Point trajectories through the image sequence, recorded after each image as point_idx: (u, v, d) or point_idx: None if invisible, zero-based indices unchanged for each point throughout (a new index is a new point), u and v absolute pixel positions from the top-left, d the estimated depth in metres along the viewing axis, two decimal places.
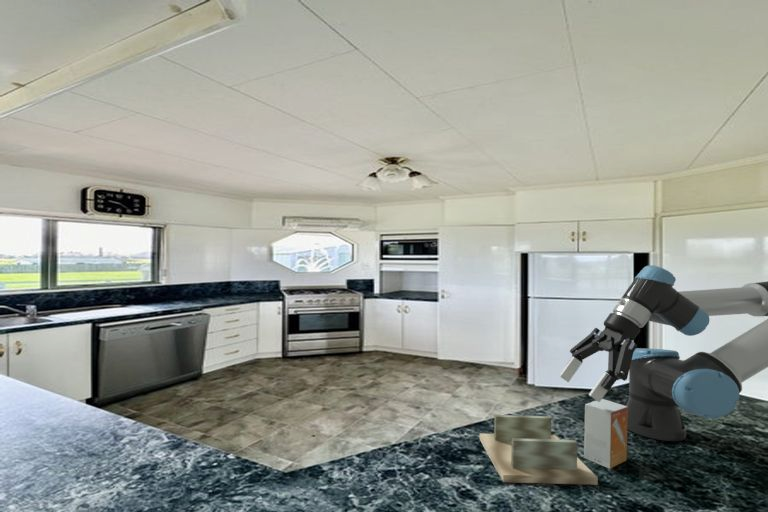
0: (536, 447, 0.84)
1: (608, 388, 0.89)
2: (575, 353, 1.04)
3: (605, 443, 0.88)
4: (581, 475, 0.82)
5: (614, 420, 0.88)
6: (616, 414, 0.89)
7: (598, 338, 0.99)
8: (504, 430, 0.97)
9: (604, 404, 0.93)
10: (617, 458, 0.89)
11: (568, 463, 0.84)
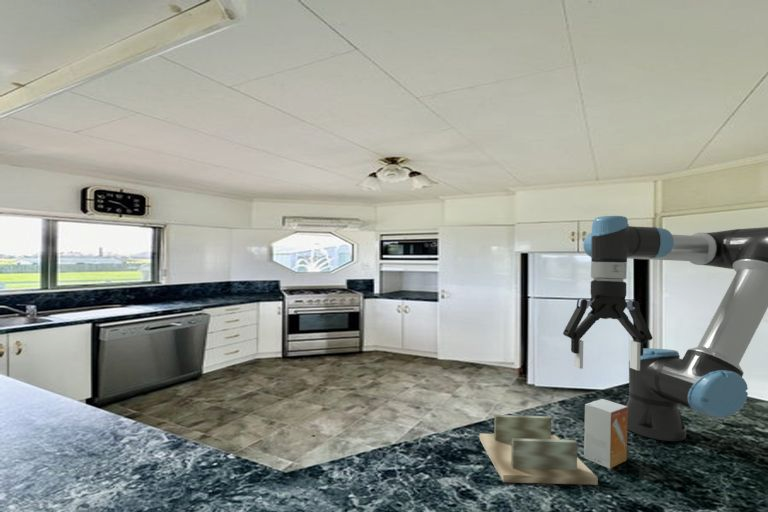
0: (536, 447, 0.84)
1: None
2: (579, 336, 0.92)
3: (605, 443, 0.88)
4: (581, 475, 0.82)
5: (613, 420, 0.88)
6: (616, 414, 0.89)
7: (602, 311, 0.91)
8: (504, 430, 0.97)
9: (604, 404, 0.93)
10: (617, 458, 0.89)
11: (568, 463, 0.84)
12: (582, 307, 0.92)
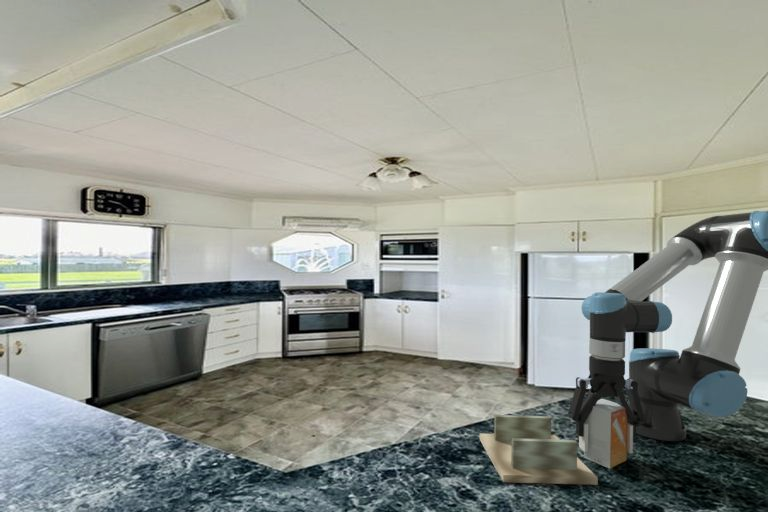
0: (536, 447, 0.84)
1: None
2: (584, 419, 0.91)
3: (605, 443, 0.88)
4: (581, 475, 0.82)
5: (613, 420, 0.88)
6: (616, 413, 0.89)
7: (602, 391, 0.91)
8: (504, 430, 0.97)
9: (604, 404, 0.93)
10: (617, 458, 0.89)
11: (568, 463, 0.84)
12: (582, 388, 0.91)
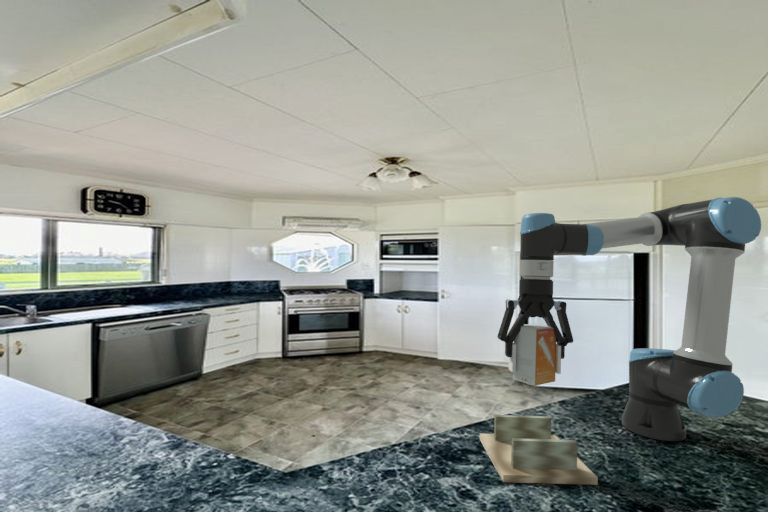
0: (536, 447, 0.84)
1: None
2: (512, 339, 0.91)
3: (531, 360, 0.88)
4: (581, 475, 0.82)
5: (539, 338, 0.88)
6: (542, 331, 0.88)
7: (530, 310, 0.90)
8: (504, 430, 0.97)
9: (533, 325, 0.92)
10: (544, 377, 0.89)
11: (568, 463, 0.84)
12: (510, 308, 0.91)
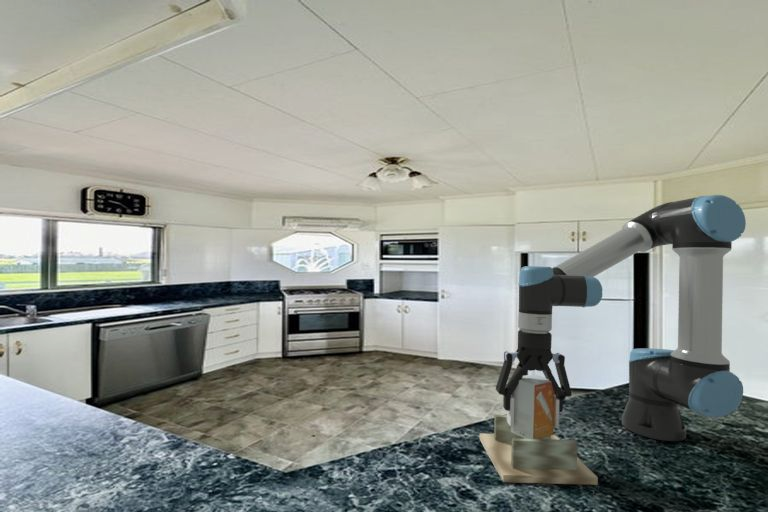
0: (536, 447, 0.84)
1: None
2: (510, 393, 0.90)
3: (529, 416, 0.88)
4: (581, 475, 0.82)
5: (537, 393, 0.87)
6: (540, 386, 0.88)
7: (528, 364, 0.90)
8: (504, 430, 0.97)
9: (531, 378, 0.92)
10: (542, 432, 0.89)
11: (568, 463, 0.84)
12: (508, 362, 0.91)
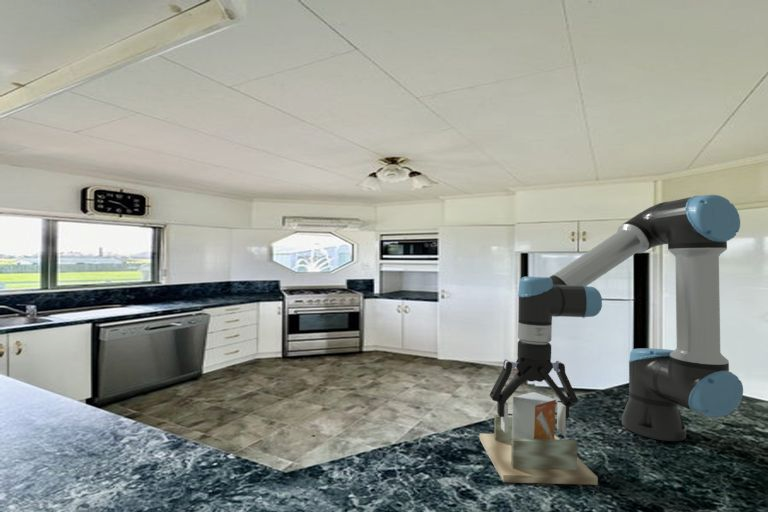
0: (536, 447, 0.84)
1: None
2: (504, 399, 0.90)
3: (530, 436, 0.87)
4: (581, 475, 0.82)
5: (538, 413, 0.87)
6: (541, 407, 0.88)
7: (527, 374, 0.90)
8: None
9: (532, 397, 0.92)
10: None
11: (568, 463, 0.84)
12: (507, 370, 0.90)
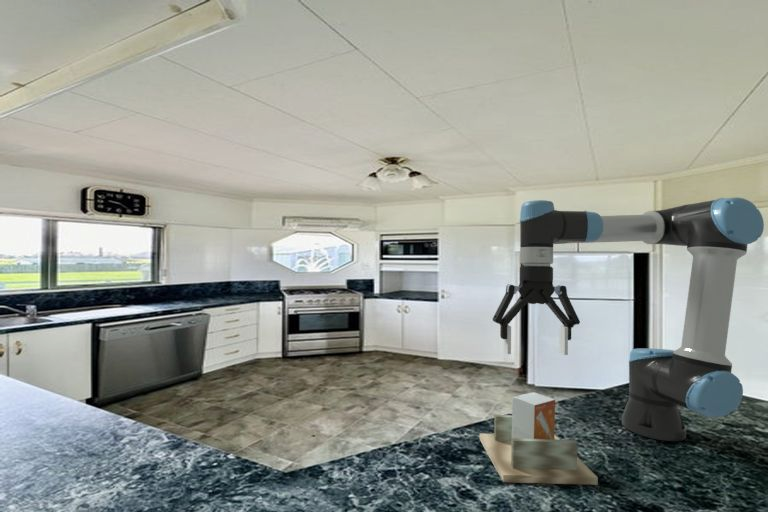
0: (536, 447, 0.84)
1: None
2: (507, 322, 0.92)
3: (530, 436, 0.88)
4: (581, 475, 0.82)
5: (538, 413, 0.87)
6: (540, 406, 0.88)
7: (529, 296, 0.91)
8: (504, 430, 0.97)
9: (532, 397, 0.92)
10: None
11: (568, 463, 0.84)
12: (509, 292, 0.92)
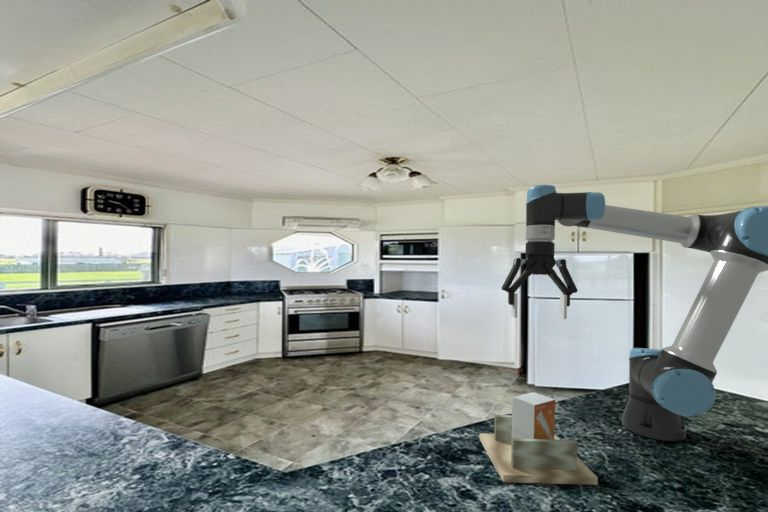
0: (536, 447, 0.84)
1: None
2: (514, 289, 1.06)
3: (530, 436, 0.88)
4: (581, 475, 0.82)
5: (538, 413, 0.87)
6: (540, 406, 0.88)
7: (534, 268, 1.05)
8: (504, 430, 0.97)
9: (532, 397, 0.92)
10: None
11: (568, 463, 0.84)
12: (516, 264, 1.06)
